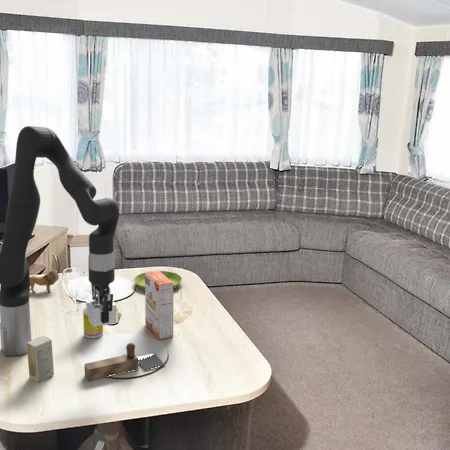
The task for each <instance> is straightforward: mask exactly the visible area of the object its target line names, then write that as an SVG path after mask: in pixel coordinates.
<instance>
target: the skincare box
mask: <svg viewBox="0 0 450 450" xmlns="http://www.w3.org/2000/svg"><path fill="white" fill-rule="evenodd" d="M31 340H32V341H29V342H27V353H26V354H27V363H28V377H29V379H30V380H32V381H33V382H35V383H37V384H38V383H39V382H42V381H44V380H47V379H49V378H51V377H53V376H54V375H55V372H54V371H55V368H54V355H53V354H54V353H53V340H52V339H51V338H49V337H47V336H45V335H42V336H39V337H37V338H34V339H31Z"/></svg>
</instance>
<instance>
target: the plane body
mask: <svg viewBox="0 0 450 450" xmlns="http://www.w3.org/2000/svg"><path fill="white" fill-rule="evenodd" d="M125 348H126V354H124V355H123V354H122V355H119V356H113V357H110V358H105V359H101V360H96V361H92V362H91V361H90V362H87V363H84V364H83V365H84V366H83V367H84V377H85V378H86V380H87V381H88V382H92V381H97V380H102V379H105V378H108V377H107V376H109V375H113V374H119V373H123V372H127V373H129V372H128V371H131V372H133V371H132V370H136V369H138V370H139V364H138V358H137V357H136V356H137V355H136V354H135V350H136V345H135V343H133V342H129V343H127V344H126V347H125ZM136 371H137V370H136ZM123 374H124V373H123ZM119 375H120V374H119Z"/></svg>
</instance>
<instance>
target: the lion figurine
mask: <svg viewBox="0 0 450 450" xmlns="http://www.w3.org/2000/svg"><path fill="white" fill-rule="evenodd" d="M59 278H60V275H59V271H57V270H55V269H52V270H51V271H49V272H48V273H46V274H45V275H43V276H35V275H32V276H30V291H31V292H32V294H36V291H35V290H34V287H35V285H37V286H42V287H43V286H45V287H46V291H47V293H48V292H51V293H52V291H51V286H53V285H55V283H56V282H57V281H58V280H59Z"/></svg>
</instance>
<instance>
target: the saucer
mask: <svg viewBox="0 0 450 450" xmlns="http://www.w3.org/2000/svg"><path fill="white" fill-rule="evenodd" d="M159 271H160V272H161V273H162V274H164V275H165V276H166V277H167V278H168V279H169V280H170V281H171V282H172V283H173V290H174V289H176V288H177V287H179V285H180V284H181V282H182V280H183V278H182V276H181V275H179V273H175V272H173V271H166V270H159ZM133 282H134V284H135V285H137V287H138V288H140V289H141V290H143V291H145V272H143V273H140V274H138V275H136V276H135V277H134V279H133Z"/></svg>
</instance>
